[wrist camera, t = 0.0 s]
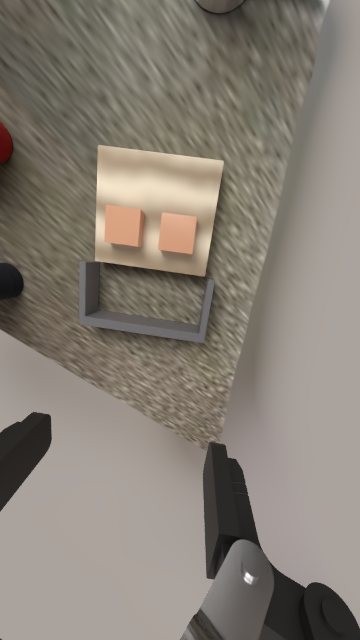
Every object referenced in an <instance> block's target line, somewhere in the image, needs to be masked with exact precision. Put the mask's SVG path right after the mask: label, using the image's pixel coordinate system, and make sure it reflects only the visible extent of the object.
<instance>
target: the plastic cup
mask: <svg viewBox="0 0 360 640" xmlns="http://www.w3.org/2000/svg"><path fill="white" fill-rule="evenodd" d="M12 146H13V144H12V140H11V136H10V134H9V132H8V131H7V129H6V128H5V127H4V125H3V124H2V123H1V122H0V163H3V162H5V161H6V160H8V159H9V157H10V155H11V153H12Z"/></svg>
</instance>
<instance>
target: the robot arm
mask: <svg viewBox="0 0 360 640" xmlns="http://www.w3.org/2000/svg"><path fill="white" fill-rule="evenodd" d="M196 1H197V3H198V4H199V5H200V6H201V7H202V8H204V9H206V10H208V11H209V12H213V13H225V12H228V11H231V10H233V9H235V8H236V7H238V6H239V5H240V4H241V3H242V2H243V1H244V0H196ZM51 439H52V437H51V416H50V415H49V414H43V413H37V412H33V413H31V414H30V415H28V416H27V417H26V418H25V419H24V420H23V421H22V422H16V423H14V424H13V425H11V426H9V427H7V428H5V429H4V430H3V431H2V432H1V433H0V511H1V510H2V509H3V507H4V506H5V505H6V504H7V502H8V501H9V500H10V498H11V497H12V496H13V495H14V493H15V492H16V491H17V490H18V488H19V487H20V486H21V484H22V483H23V482H24V481H25V479H26V478H27V477H28V475H29V474H30V473H31V471H32V470H33V469H34V468H35V467H36V465H37V464H38V463H39V461H40V460H41V459H42V458H43V456H44V455H45V454H46V452H47V451H48V449H49V447H50V444H51ZM203 489H204V490H203V491H204V519H205V546H206V573H207V578H209V579H214V582H213V583H212V586H211V587H210V589H209V591H208V593H207V595H206V597H205V599H204V601H203V603H202V605H201V607H200V609H199V610H198V612H197V614H195V615H194V616H193V618H192V619H191V621H190V622H189V624H188V626H187V628H186V630H185V632H184V633H183V635H182V637H181V639H180V640H360V628H359V626H358V624H357V621H356V619H355V618H354V616H353V614H352V612H351V611H350V610H349V608H348V606H347V605H346V604H345V602H344V601H343V600H342V599H341V598H340V597H339V595H338V594H336V593H335V592H334V591H333V590H332V589H331V588H329V587H327V586H326V585H324V584H321V583H317V582H314V583H311V584H309V585H308V586H307V588H305V587H303V586H301V585H300V584H298V583H297V582H295V581H293V580H292V579H290V578H288V577H287V576H285V575H284V574H282V573H281V572H279V571H278V570H277V569H276V568H275V567H274V566H273V565H272V564H271V563H270V561H269V560H268V558H267V557H266V555H265V554H264V552H263V550H262V548H261V546H260V543H259V540H258V536H257V532H256V527H255V522H254V518H253V514H252V510H251V505H250V501H249V496H248V492H247V488H246V485H245V479H244V474H243V470H242V469H241V467H240V465H239V464H238V462H237V460H236V459H232V458H228V457H227V451H226V446H225V445H224V444H219V443H213V442H210V443H209V446H208V450H207V455H206V460H205V464H204V471H203ZM0 640H2V639H0Z"/></svg>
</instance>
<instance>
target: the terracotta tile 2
mask: <svg viewBox="0 0 360 640" xmlns="http://www.w3.org/2000/svg"><path fill="white" fill-rule="evenodd" d="M196 226H197V217H194V216H187V215H179V214H172V213H164V212H162V216H161V226H160V235H159V245H158V250H161V251H168V252H175V253H182V254H189V255H192V253H193V246H194V239H195V232H196Z"/></svg>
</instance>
